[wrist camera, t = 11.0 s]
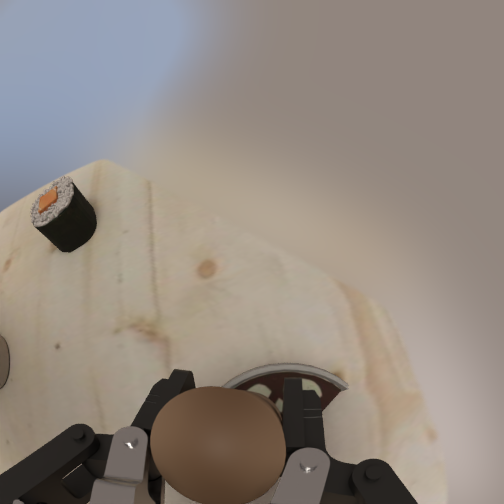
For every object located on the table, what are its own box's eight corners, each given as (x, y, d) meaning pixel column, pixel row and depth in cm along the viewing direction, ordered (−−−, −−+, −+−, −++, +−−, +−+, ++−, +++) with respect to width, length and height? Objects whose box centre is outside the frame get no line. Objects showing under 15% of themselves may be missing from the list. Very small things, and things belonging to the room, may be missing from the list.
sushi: (101, 232, 35) (72, 198, 29) (59, 261, 34) (26, 232, 27) (93, 198, 39) (69, 165, 32) (55, 224, 38) (28, 195, 31)
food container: (281, 346, 26) (283, 320, 18) (327, 386, 24) (354, 381, 15) (192, 428, 23) (148, 441, 14) (236, 471, 20) (213, 507, 12)
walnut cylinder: (208, 451, 13) (148, 491, 6) (213, 387, 14) (155, 377, 8) (279, 457, 12) (280, 511, 5) (284, 392, 14) (290, 390, 7)
